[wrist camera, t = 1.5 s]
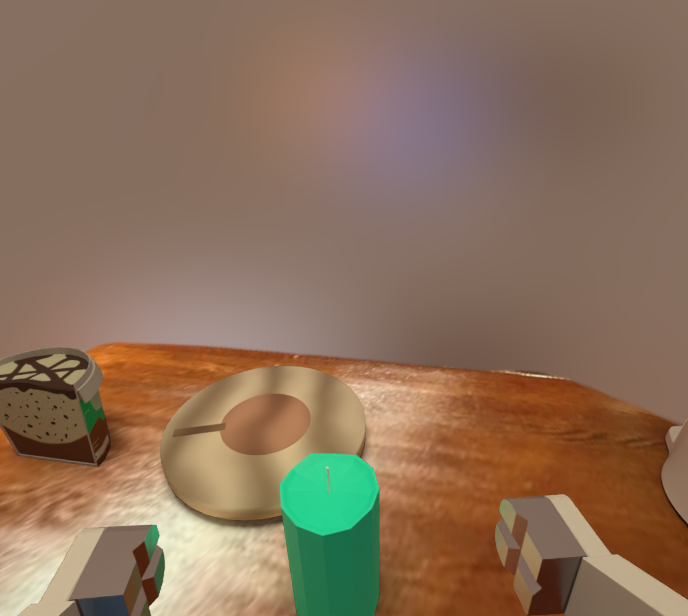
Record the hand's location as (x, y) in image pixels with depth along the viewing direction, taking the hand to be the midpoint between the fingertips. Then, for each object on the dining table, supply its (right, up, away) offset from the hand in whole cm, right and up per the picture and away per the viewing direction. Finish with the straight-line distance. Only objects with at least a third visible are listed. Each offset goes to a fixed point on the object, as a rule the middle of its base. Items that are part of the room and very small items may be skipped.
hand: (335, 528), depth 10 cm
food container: (-28, -9, +35) cm, 45 cm away
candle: (0, -15, +20) cm, 25 cm away
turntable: (-8, -8, +33) cm, 35 cm away
